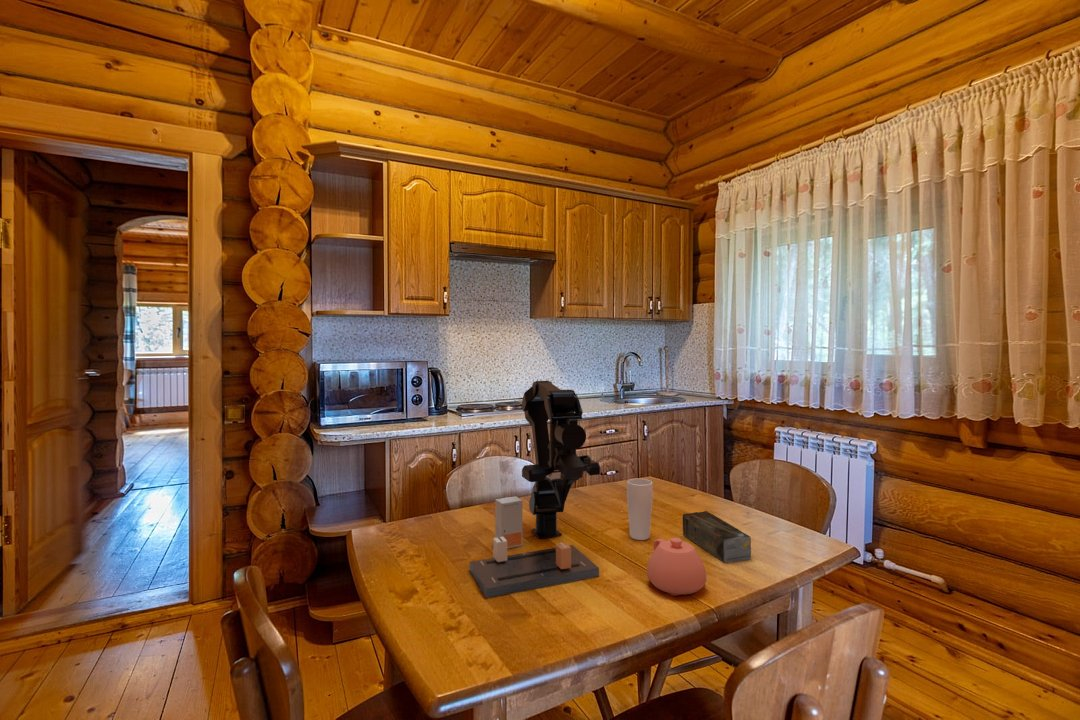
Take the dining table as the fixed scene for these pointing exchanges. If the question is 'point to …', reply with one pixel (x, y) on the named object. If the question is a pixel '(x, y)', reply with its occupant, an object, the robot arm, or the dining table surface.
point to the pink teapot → (676, 567)
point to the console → (529, 571)
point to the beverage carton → (717, 537)
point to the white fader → (500, 549)
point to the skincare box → (509, 520)
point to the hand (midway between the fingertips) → (561, 505)
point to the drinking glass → (639, 507)
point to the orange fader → (563, 556)
